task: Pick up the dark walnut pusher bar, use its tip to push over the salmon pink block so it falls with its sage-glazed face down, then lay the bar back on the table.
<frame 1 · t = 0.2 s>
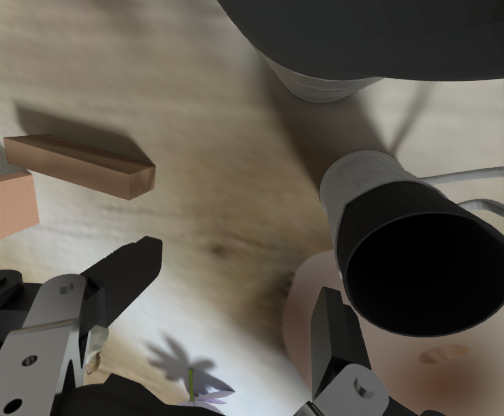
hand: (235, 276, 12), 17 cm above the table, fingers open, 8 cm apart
water lily: (203, 385, 44), on the table
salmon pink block: (31, 198, 36), on the table
ceramic sculpture: (92, 331, 45), on the table
walnut pusher bar: (100, 160, 32), on the table
glass holder: (388, 180, 25), on the table
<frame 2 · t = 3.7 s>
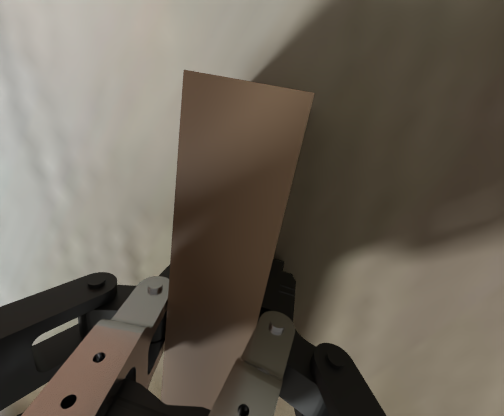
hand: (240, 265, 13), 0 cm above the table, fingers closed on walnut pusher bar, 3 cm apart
walnut pusher bar: (242, 263, 13), on the table, touching gripper
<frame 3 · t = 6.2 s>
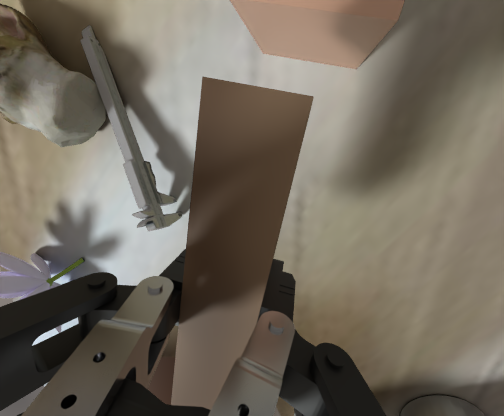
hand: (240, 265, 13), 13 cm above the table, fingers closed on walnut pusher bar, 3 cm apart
water lily: (65, 267, 36), on the table
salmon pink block: (311, 49, 20), on the table
ceramic sculpture: (66, 91, 27), on the table
walnut pusher bar: (247, 252, 14), point 12 cm above the table, touching gripper
caliper: (140, 131, 26), on the table
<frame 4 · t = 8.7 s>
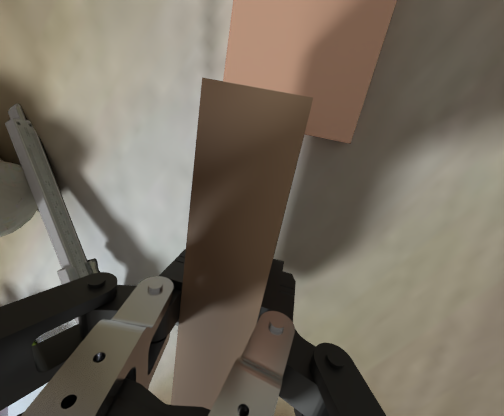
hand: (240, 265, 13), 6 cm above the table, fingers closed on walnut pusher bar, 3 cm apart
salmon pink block: (283, 129, 15), point 1 cm above the table, tilted 90°
walnut pusher bar: (247, 253, 14), point 5 cm above the table, touching gripper
caliper: (87, 217, 22), on the table
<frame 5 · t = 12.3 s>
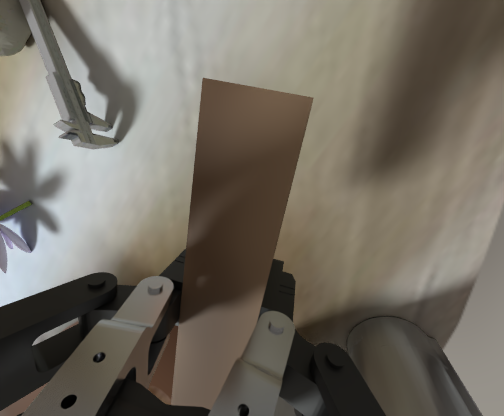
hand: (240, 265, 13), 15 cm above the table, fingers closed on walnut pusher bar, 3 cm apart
water lily: (15, 214, 35), on the table
walnut pusher bar: (247, 253, 14), point 14 cm above the table, touching gripper
caliper: (71, 53, 26), on the table
when the fingers open (2 cm above the table, at t = 15.1 s): walnut pusher bar stays where it is, on the table.
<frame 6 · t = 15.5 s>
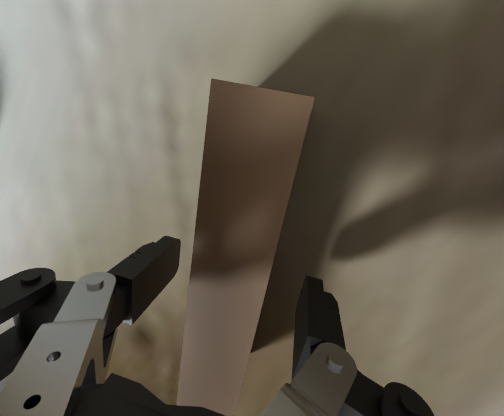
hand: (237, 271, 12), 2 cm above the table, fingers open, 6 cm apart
walnut pusher bar: (249, 247, 14), on the table
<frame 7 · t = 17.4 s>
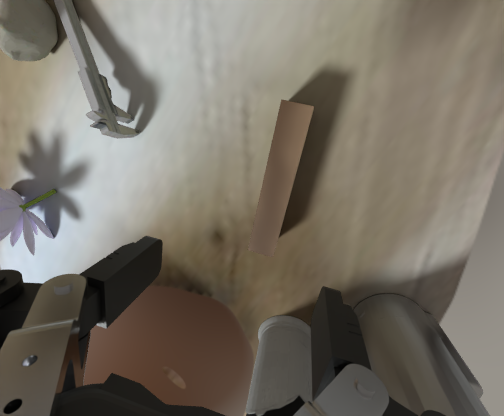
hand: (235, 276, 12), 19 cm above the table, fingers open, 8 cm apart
water lily: (39, 202, 38), on the table
ceramic sculpture: (22, 14, 29), on the table
walnut pusher bar: (281, 177, 29), on the table
caliper: (98, 51, 29), on the table
glass holder: (295, 350, 37), on the table
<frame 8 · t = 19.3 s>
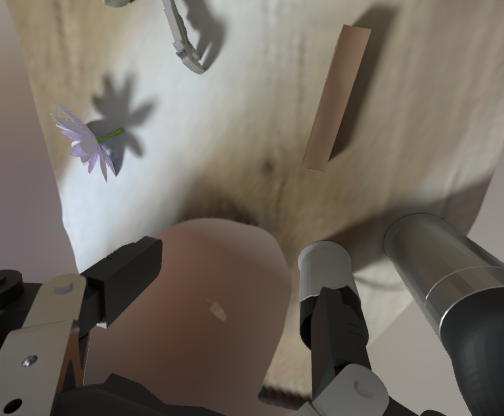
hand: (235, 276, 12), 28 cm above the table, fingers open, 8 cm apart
water lily: (105, 142, 43), on the table
walnut pusher bar: (329, 107, 34), on the table
glass holder: (331, 275, 42), on the table
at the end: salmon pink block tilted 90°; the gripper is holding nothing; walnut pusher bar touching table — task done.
